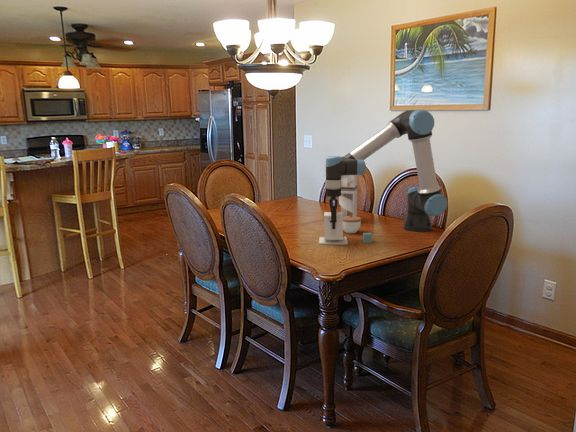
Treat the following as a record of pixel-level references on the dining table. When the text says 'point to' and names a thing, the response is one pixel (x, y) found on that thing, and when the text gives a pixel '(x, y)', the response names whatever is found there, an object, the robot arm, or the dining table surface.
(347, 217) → the lidded jar
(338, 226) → the white block
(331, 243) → the mat
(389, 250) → the dining table surface
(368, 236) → the teal block
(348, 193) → the display case
